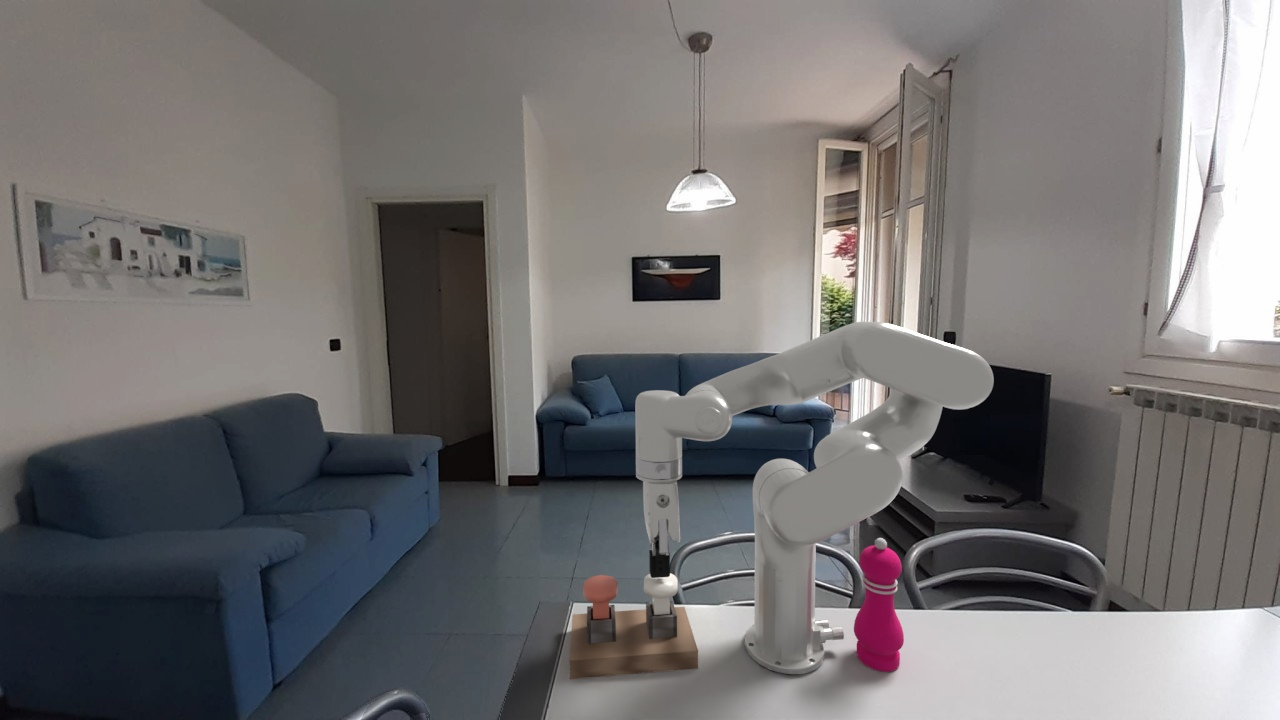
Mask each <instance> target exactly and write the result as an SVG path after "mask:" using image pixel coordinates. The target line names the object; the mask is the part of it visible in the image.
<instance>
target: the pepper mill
mask: <svg viewBox="0 0 1280 720" xmlns="http://www.w3.org/2000/svg"><path fill="white" fill-rule="evenodd" d="M858 562H859V566H860V569H861V570H862V572H863V574H862V581H861V582H862V586H864V589H865V597H864V601H863V603H862V606H861V607H860V608H859V610H858V611H857V614H856V616H855V619H854V622H853V623H854V624H853V632H854V633H853V634H854V635H855V638H856V639H857V641H856V642H857V643H856V651H855V652H856V656H857V658H858V660H859V661H860V662H861V663H862V664H863V665H864V666H866V667H868V668H870V669H871V670H875V671H878V672H882V673H883V672H884V673H889V672H893V671H895V670H898V668H899V667H900V664H901V662H900V661H901V659H900V657H901V655H900V654H901V653H900V650H901V648H903V646H904V642H905V637H904V630H903V626H902V625H901V622H900V619H899V617H898V615H897V612H896V610H895V606H894V602H895V601H894V596H895V593H897V591H898V580H897V579H898V578H899V577H900V575H901V573H902V568H903V567H902V561H901V559H900V557H899V555H898V554H897V552H895V551H894V550H892V549H890V548H889V547H888V542H887V541H886V539H884V538H883V537H877V538H876V539H874V545H870V546H867V547H865V548H864V549H863V550H862V552H861V553H860V556H859V561H858Z"/></svg>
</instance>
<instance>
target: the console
mask: <svg viewBox="0 0 1280 720" xmlns="http://www.w3.org/2000/svg"><path fill="white" fill-rule="evenodd" d="M586 607H587V608H586V613H573V614H572V619H571V630H570V631H571V633H570V647H569V659H568V661H569V680H573V679H584V678H585V679H586V678H587V679H588V678H601V677H611V676H625V675H634V674H635V675H636V674H637V675H638V674H646V673H647V674H649V673H651V674H652V673H663V672H674V671H683V670H684V671H685V670H698V669H699V648H698V645H697V643H696V639H695V636H694V634H693V630H692V627H691V623H690V620H689V617H688V614H687V610H686V607H685V606H677V607H675V605H674V601H673V600H670V614H663V615H654V611H653V606H652V601H649V602H645V609H632V610H617V611H616V608H615V604H609V618H606V619H593V605H590V606H586Z"/></svg>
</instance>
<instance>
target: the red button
mask: <svg viewBox="0 0 1280 720" xmlns="http://www.w3.org/2000/svg"><path fill="white" fill-rule="evenodd" d="M582 584H583V586H582V587H583V588H582V590H583V591H582V592H583V593H582V594H583V599H585V600H586V601H587V602H591V603H592V606H593V619H606V618H609V605H610V602H611V601H612V600H614V599H615V598H616V597H617V596H618V593H619V592H618V581H617V579H616V578H615V577H613V576H610V575H605V574H599V575H594V576H591V577H589V578H587V579H586V580H585V581H584V582H583V583H582Z"/></svg>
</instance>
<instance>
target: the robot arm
mask: <svg viewBox="0 0 1280 720" xmlns="http://www.w3.org/2000/svg"><path fill="white" fill-rule="evenodd" d="M861 379H865V380H869V381H871V382H873V383H877V384H879V385H882V386H883V387H886V388H890V389H891V392H890V393H889V395H888V398H886V400H885V401H884V402H883V403H882V404H880V405H879V406H878V407H876V408H875V409H873V410H871V411H870V412H869V413H866V414H865V415H863V416H861V417H859V418H858V419H855V420H853V421H852V422H850V423H848V424H847V425H844V426H842V427H841V428H839V429H837V430H835V431H833V432H831V433H830V434H827V435H825V437H823V438H822V439H821V440H820V441H819V442H818V443H817V445H816V446H815V449H814V452H813V461H814V464H815V467H816V468H815V469H813V470H811V471H808V470H807V469H806V468H805V467H804V466H803V465H801V464H799V463H798V462H796V461H794V460H792V459H789V458H788V459H787V458H775V459H771V460H769V461H767V462H765V463H764V464H763V465H761V467H760V468H759V469H758V471H757V472H756V474H755V476H754V478H753V482H752V483H753V484H752V509H753V524H754V624H752V625H751V626H750V627H749V628H748V629H747V630H746V632H745V634H744V647H745V649H746V652H747V653H748V655H749V656H750V657H751V659H753V660H754V661H755V662H756V663H758V664H759V665H760V666H762V667H763V668H766V669H768V670H771V671H774V672H777V673H781V674H784V675H785V674H787V675H802V674H807V673H810V672H812V671H815V670H816V669H818V668H819V667H820V666H821V665H822V664H823V661H824V659H825V658H824V657H825V647H824V644H825V643H826V641H830V640H831V641H837V640H840V641H841V640H844V639H845V634H844V630H843V628H842V627H841V626H830V623H829V621H828V619H819V620H815V614H816V611H815V609H816V608H815V607H816V604H815V603H816V559H817V557H816V555H817V553H816V552H817V549H816V548H817V547H816V544H819V543H821V542H822V541H825V540H828V539H830V538H831V537H834V536H836V535H837V534H839V533H841V532H843V531H845V530H847V529H848V528H850V527H853V526H855V525H856V524H858V523H860V522H862V521H864V520H865V519H866V520H867V519H868V518H869V517H872V516H874V515H875V514H877V513H878V512H880V511H883V509H885V508H886V507H887V506H889V504H890V503H892V501H893V500H894V499H896V496H898V493H899V492H900V490H901V488H902V484H903V469H902V466H901V464H900V462H901V461H903V460H905V459H906V458H907V457H910V456H911V455H913V454H915V453H916V452H917V451H919V450H920V449H922V448H923V447H924V446H925V445H926V444H927V443H928V442H929V441H931V439H932V437H933V436H934V434H935V432H936V430H937V427H938V425H939V422H940V419H941V415H942V411H943V407H944V408H947V409H951V410H958V411H959V410H968V409H970V408H974V407H976V406H979V405H980V404H981V403H983V402H984V401H985V400H987V398H988V397H989V396H990V394H991V393H992V390H993V388H994V383H995V382H994V381H995V380H994V373H993V370H992V368H991V366H990V364H989V363H988V362H987V360H986V359H984V358H983V356H981V355H979V354H978V353H976V352H975V351H972V350H970V349H967V348H964V347H962V346H958V345H956V344H953V343H952V344H951V343H948V342H945V341H942V340H939V339H936V338H933V337H931V336H928V335H925V334H921V333H919V332H915V331H914V330H910V329H907V328H905V327H902V326H898V325H895V324H892V323H888V322H881V321H880V322H879V321H858V322H857V321H856V322H852V323H850V324H849V323H848V324H846V325H844V326H841V327H838V328H837V329H833V330H831V331H829V332H827V333H824V334H822V335H820V336H818V337H815V338H813V339H811V340H808V341H806V342H803V343H801V344H799V345H796V346H794V347H792V348H789V349H787V350H784V351H782V352H780V353H777V354H775V355H772V356H768V357H766V358H763V359H761V360H758V361H755V362H753V363H750V364H747V365H744V366H741V367H739V368H736V369H733V370H730V371H728V372H725V373H723V374H721V375H717V376H715V377H713V378H711V379H708V380H706V381H704V382H701V383H700V384H697V385H695V386H693V387H692V388H691V389H690V390H689V391H687V393H686V394H685V395H679V394H678V393H677V392H676V391H671V390H663V389H662V390H658V389H656V390H655V389H654V390H646V391H645V390H644V391H642V392H640V393H639V394H638V395H637V396H636V397H635V403H634V404H635V407H634V408H635V409H634V410H635V418H634V419H635V422H634V423H635V478H637V479H638V480H640V481H642V497H643V498H642V499H643V501H642V502H643V515H644V525H645V528H646V529H645V530H646V532H647V537H648V541H649V547H650V549H649V556H648V557H649V558H648V559H649V568H648V569H649V574H650V575H651V577H652V578H660V577H669V576H670V573H671V555H670V553H671V552H670V537H671V539H672V542H673V543H676V544H678V543H680V542H681V527H680V501H679V490H678V489H679V488H678V480H680V479H682V477H683V439H687V440H693V441H700V442H712V441H713V442H714V441H717V440H720V439H722V438H723V437H725V436H726V435H727V434H728V432H729V431H730V429H731V427H732V424H733V416H736V415H739V414H742V413H744V412H746V411H749V410H752V409H756V408H760V407H765V406H766V407H768V406H792V405H800V404H803V403H806V402H808V401H810V400H813V399H815V398H817V397H820V396H822V395H824V394H826V393H829V392H831V391H834V390H836V389H838V388H842V387H844V386H846V385H849V384H851V383H853V382H855V381H859V380H861Z"/></svg>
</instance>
